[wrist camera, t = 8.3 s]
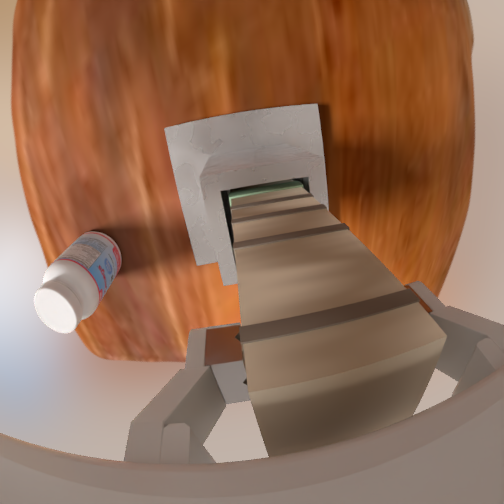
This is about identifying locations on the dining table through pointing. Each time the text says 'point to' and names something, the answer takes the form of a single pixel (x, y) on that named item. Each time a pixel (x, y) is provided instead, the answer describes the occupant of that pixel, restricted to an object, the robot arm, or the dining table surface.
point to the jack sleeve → (241, 169)
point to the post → (322, 324)
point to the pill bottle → (77, 281)
